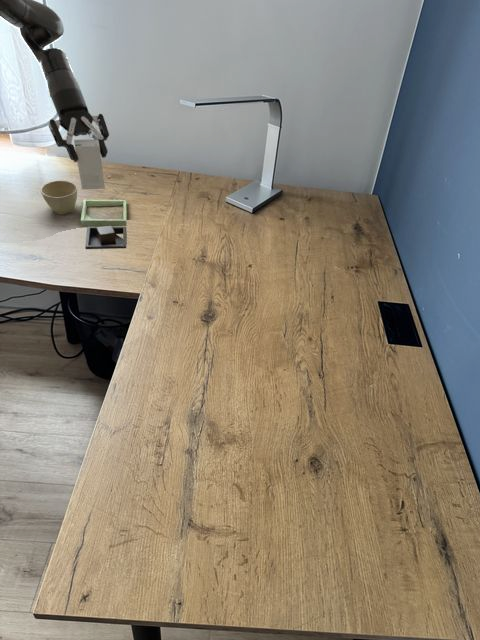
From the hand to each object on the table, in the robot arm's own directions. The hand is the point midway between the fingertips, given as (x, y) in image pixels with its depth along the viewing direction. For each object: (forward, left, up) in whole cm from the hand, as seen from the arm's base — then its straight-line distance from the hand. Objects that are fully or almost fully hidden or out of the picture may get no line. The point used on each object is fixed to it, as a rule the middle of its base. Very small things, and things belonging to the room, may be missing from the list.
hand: (90, 158), depth 129 cm
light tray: (+1, +10, -22) cm, 24 cm away
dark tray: (+2, -5, -22) cm, 23 cm away
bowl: (-11, +14, -22) cm, 29 cm away
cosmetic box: (-1, +2, -9) cm, 9 cm away
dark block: (+2, -5, -22) cm, 22 cm away
